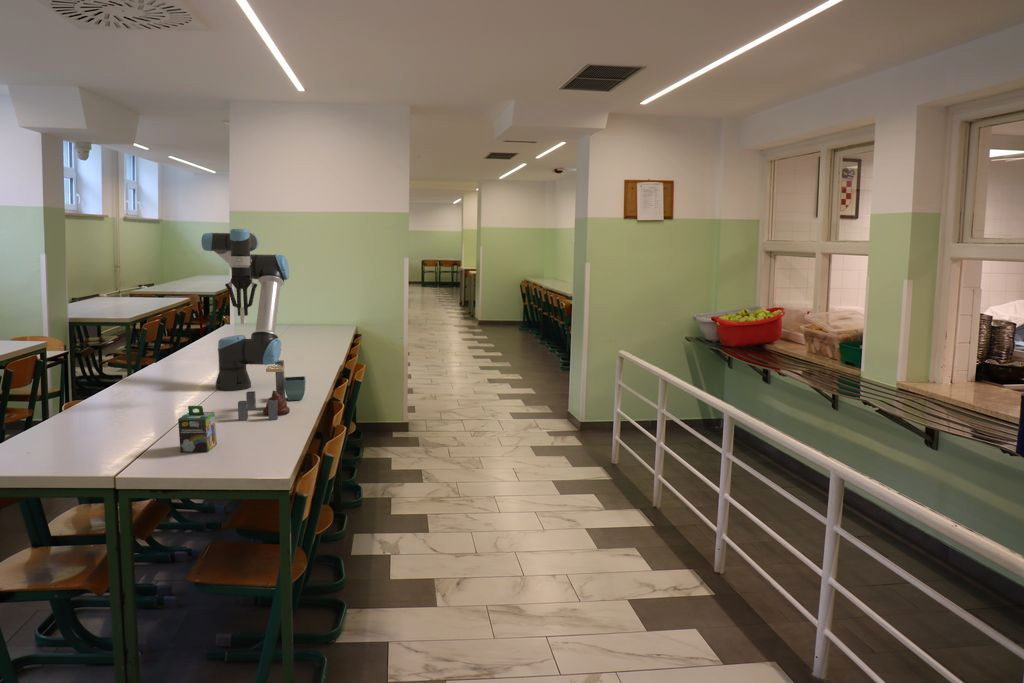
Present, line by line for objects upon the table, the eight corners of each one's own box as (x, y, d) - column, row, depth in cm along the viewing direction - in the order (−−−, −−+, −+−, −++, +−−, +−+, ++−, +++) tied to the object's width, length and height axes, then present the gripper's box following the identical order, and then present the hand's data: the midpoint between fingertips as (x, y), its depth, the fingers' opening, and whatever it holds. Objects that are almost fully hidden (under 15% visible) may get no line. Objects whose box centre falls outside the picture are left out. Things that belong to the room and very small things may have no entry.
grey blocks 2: (268, 420, 304) (268, 401, 303) (276, 408, 324) (276, 391, 322) (276, 419, 304) (276, 401, 303) (284, 407, 324) (283, 390, 323)
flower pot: (284, 402, 334) (283, 380, 333) (284, 397, 343) (283, 377, 342) (306, 401, 337) (305, 380, 336) (305, 396, 345) (305, 376, 344)
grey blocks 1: (238, 420, 302) (237, 402, 301) (248, 408, 322) (247, 391, 321) (246, 420, 303) (246, 402, 302) (256, 408, 322) (255, 391, 321)
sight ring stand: (267, 415, 311) (265, 367, 308) (273, 406, 326) (272, 360, 323) (283, 415, 311) (282, 367, 309) (289, 406, 327) (287, 360, 324)
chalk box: (217, 445, 270) (215, 401, 268) (207, 452, 261) (205, 408, 258) (189, 445, 269) (187, 401, 267) (179, 452, 260) (176, 408, 258)
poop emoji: (262, 417, 309) (261, 393, 308) (264, 411, 317) (263, 388, 316) (289, 415, 311) (288, 392, 310) (290, 410, 319) (289, 387, 318)
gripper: (222, 267, 325) (224, 324, 328) (255, 267, 327) (257, 324, 330) (226, 266, 332) (228, 322, 336) (258, 266, 334) (260, 322, 337)
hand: (243, 323), depth 333 cm, fingers closed
